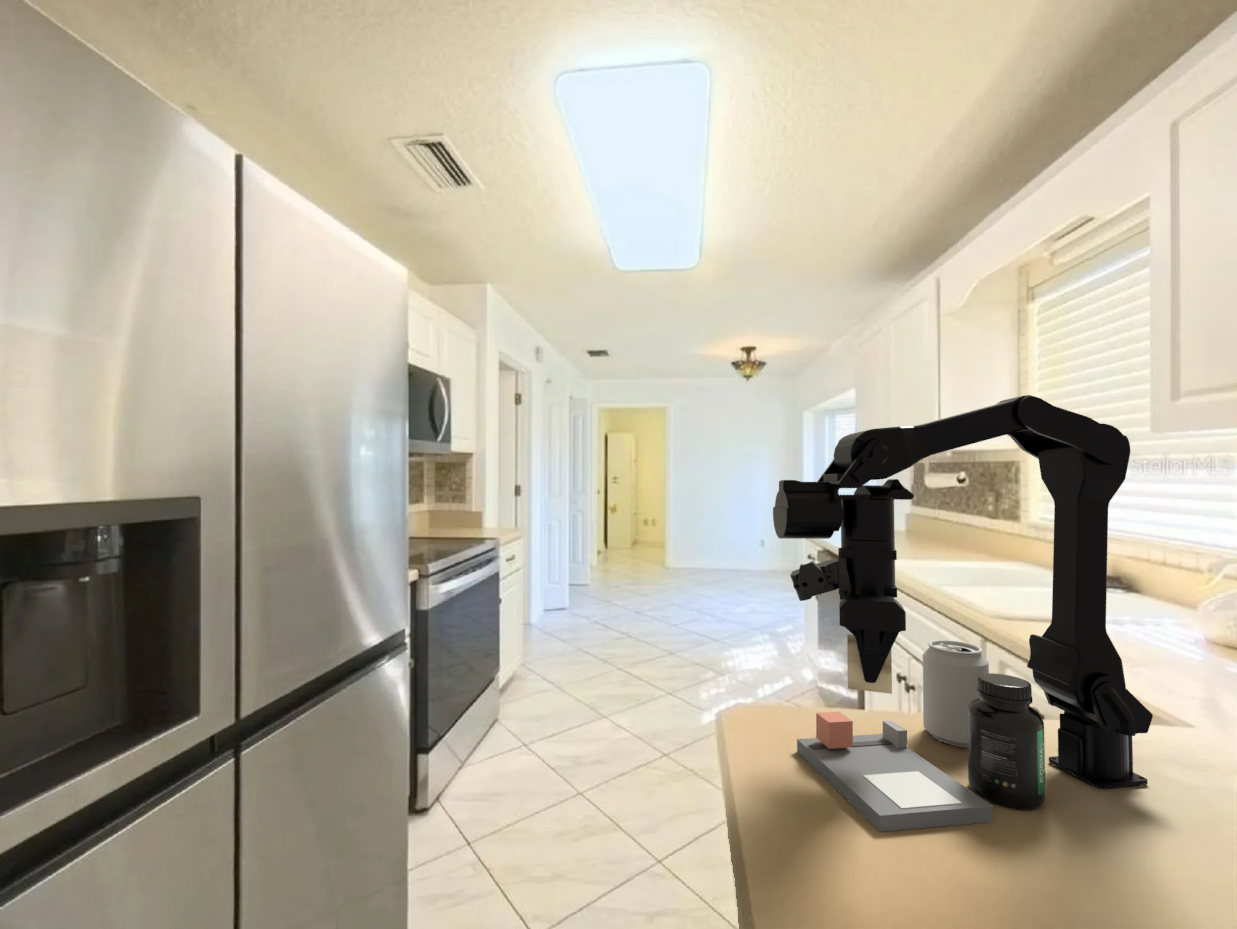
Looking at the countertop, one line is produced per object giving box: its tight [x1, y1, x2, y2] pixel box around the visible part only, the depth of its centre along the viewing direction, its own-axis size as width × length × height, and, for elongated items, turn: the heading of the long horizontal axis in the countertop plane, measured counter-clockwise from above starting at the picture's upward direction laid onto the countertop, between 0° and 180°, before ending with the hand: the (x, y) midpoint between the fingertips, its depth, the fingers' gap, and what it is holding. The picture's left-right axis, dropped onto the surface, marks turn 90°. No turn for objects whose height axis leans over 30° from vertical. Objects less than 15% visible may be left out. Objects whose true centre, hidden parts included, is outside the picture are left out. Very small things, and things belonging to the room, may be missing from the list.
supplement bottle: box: [967, 672, 1046, 811], centre depth 63 cm, size 7×7×12 cm
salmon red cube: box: [815, 711, 854, 749], centre depth 70 cm, size 3×3×3 cm
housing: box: [846, 633, 893, 695], centre depth 68 cm, size 4×4×5 cm
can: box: [922, 639, 990, 748], centre depth 77 cm, size 8×8×12 cm
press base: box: [796, 720, 994, 833], centre depth 65 cm, size 12×17×4 cm
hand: (869, 675), depth 68 cm, fingers closed on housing, 4 cm apart
